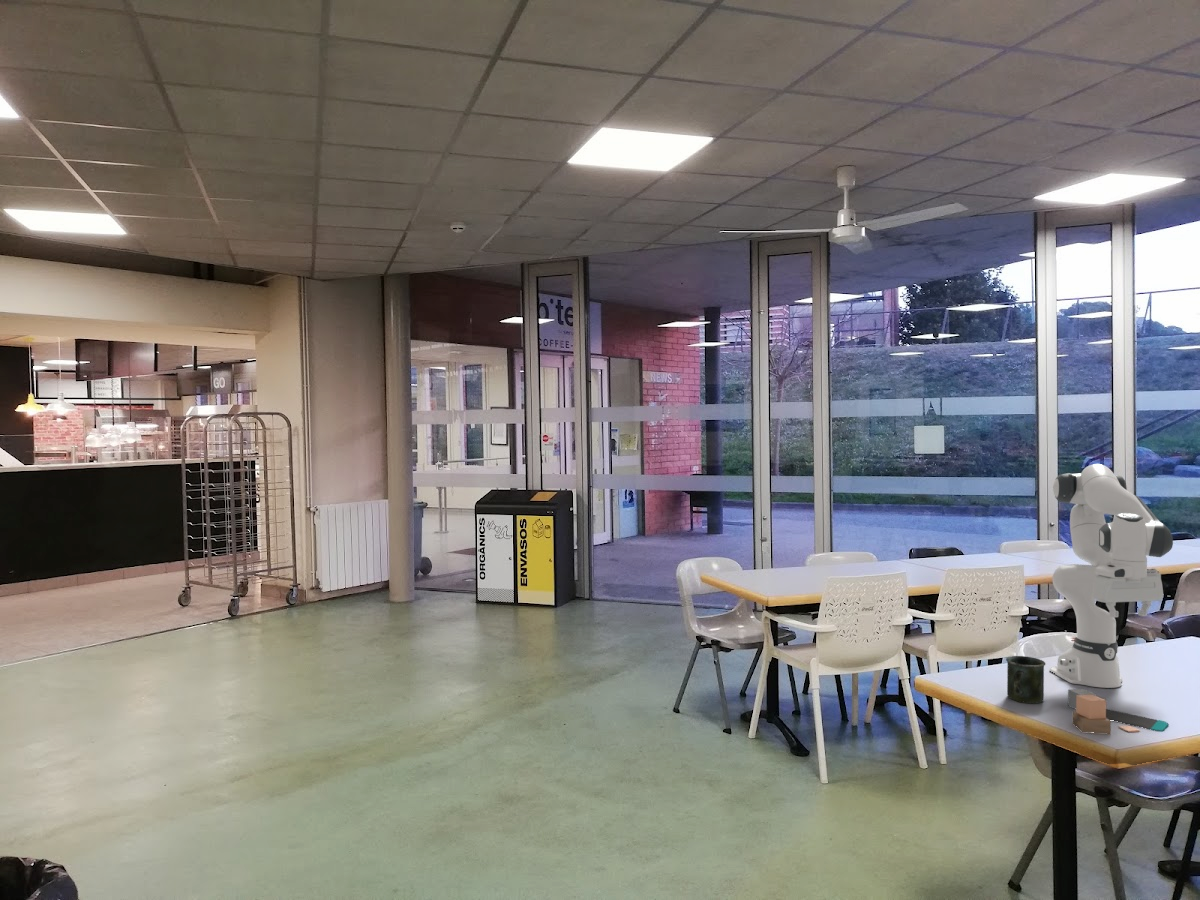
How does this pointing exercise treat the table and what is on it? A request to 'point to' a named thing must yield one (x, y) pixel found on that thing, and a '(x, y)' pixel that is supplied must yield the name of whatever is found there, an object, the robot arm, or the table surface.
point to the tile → (1129, 728)
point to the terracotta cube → (1091, 706)
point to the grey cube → (1073, 695)
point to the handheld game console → (1136, 720)
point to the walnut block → (1092, 724)
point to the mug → (1025, 679)
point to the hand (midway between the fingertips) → (1128, 616)
